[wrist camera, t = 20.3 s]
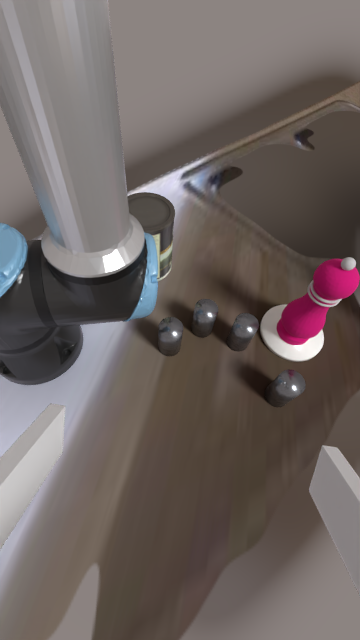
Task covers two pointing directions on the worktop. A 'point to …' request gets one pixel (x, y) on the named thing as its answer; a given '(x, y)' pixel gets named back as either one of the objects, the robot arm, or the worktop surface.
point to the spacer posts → (237, 340)
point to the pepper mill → (318, 300)
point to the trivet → (282, 348)
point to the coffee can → (156, 225)
